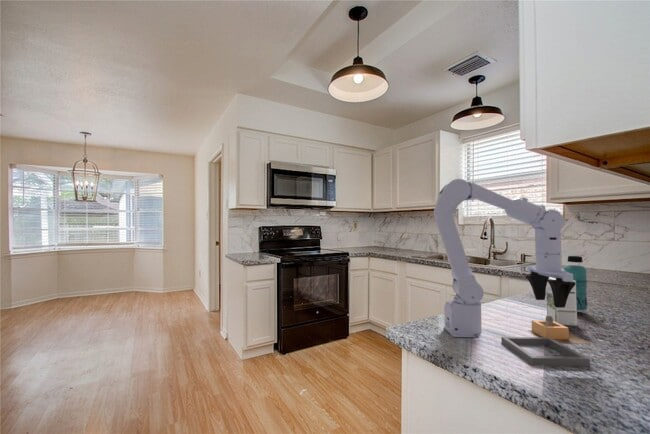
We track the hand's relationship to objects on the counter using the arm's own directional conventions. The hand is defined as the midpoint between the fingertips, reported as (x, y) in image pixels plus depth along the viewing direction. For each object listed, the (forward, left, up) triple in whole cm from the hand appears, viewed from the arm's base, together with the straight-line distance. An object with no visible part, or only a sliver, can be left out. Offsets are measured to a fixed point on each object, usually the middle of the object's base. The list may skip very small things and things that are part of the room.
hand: (549, 303), depth 81 cm
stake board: (+1, -1, -10) cm, 10 cm away
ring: (0, 0, -9) cm, 9 cm away
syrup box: (+11, +12, -10) cm, 19 cm away
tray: (-10, -12, -10) cm, 18 cm away
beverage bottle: (+26, +26, -10) cm, 38 cm away
